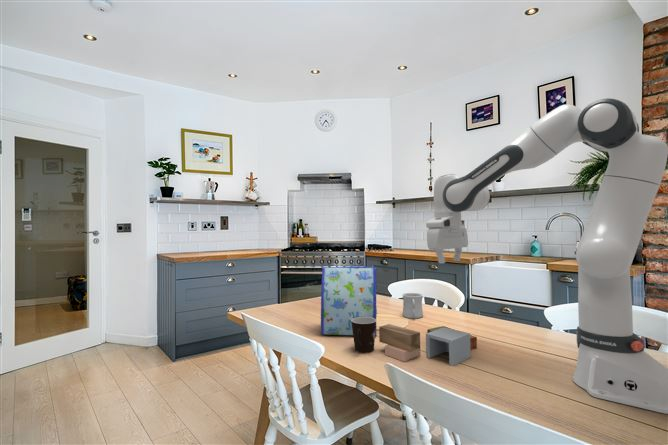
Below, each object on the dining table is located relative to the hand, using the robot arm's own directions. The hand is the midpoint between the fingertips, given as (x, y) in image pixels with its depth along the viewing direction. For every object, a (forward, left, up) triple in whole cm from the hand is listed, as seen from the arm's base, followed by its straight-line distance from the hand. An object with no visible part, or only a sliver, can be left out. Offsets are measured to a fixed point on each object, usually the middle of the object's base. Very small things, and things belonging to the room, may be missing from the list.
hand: (449, 262), depth 123 cm
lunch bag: (+37, +14, -29) cm, 49 cm away
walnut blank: (+7, +19, -26) cm, 33 cm away
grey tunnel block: (-5, +10, -29) cm, 31 cm away
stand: (+6, +19, -29) cm, 35 cm away
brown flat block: (+2, -2, -30) cm, 30 cm away
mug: (+33, -21, -29) cm, 49 cm away
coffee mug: (+18, +26, -29) cm, 43 cm away
